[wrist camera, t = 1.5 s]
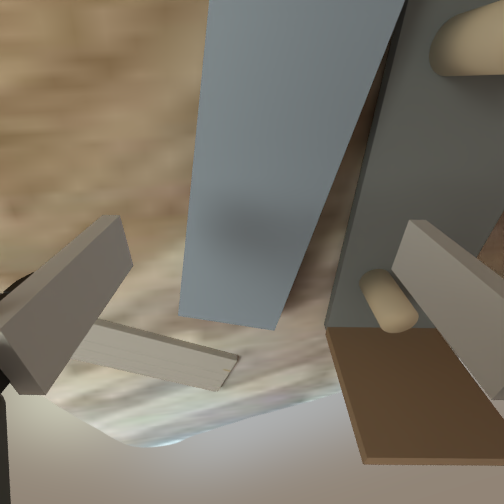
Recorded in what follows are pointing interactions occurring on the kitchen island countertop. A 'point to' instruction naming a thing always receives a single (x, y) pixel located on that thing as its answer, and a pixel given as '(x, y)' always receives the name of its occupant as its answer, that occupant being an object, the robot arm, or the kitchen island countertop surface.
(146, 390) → the kitchen island countertop surface
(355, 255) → the peg shelf
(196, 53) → the kitchen island countertop surface
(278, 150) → the shelf board
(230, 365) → the baseboard
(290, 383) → the kitchen island countertop surface
